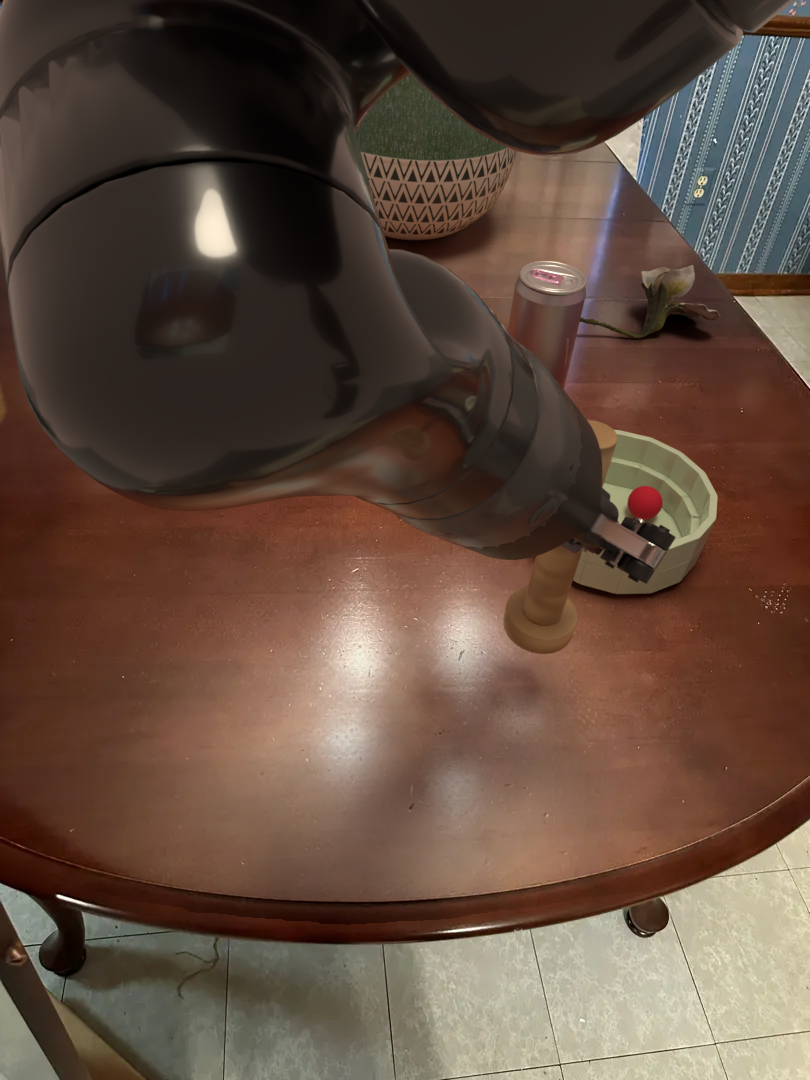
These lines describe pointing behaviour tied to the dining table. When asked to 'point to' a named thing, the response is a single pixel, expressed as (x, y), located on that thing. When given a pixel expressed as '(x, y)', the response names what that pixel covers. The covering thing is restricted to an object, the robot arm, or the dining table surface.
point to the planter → (428, 165)
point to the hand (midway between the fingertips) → (581, 523)
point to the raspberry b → (644, 502)
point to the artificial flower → (664, 300)
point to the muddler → (551, 585)
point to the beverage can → (548, 313)
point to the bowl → (682, 513)
